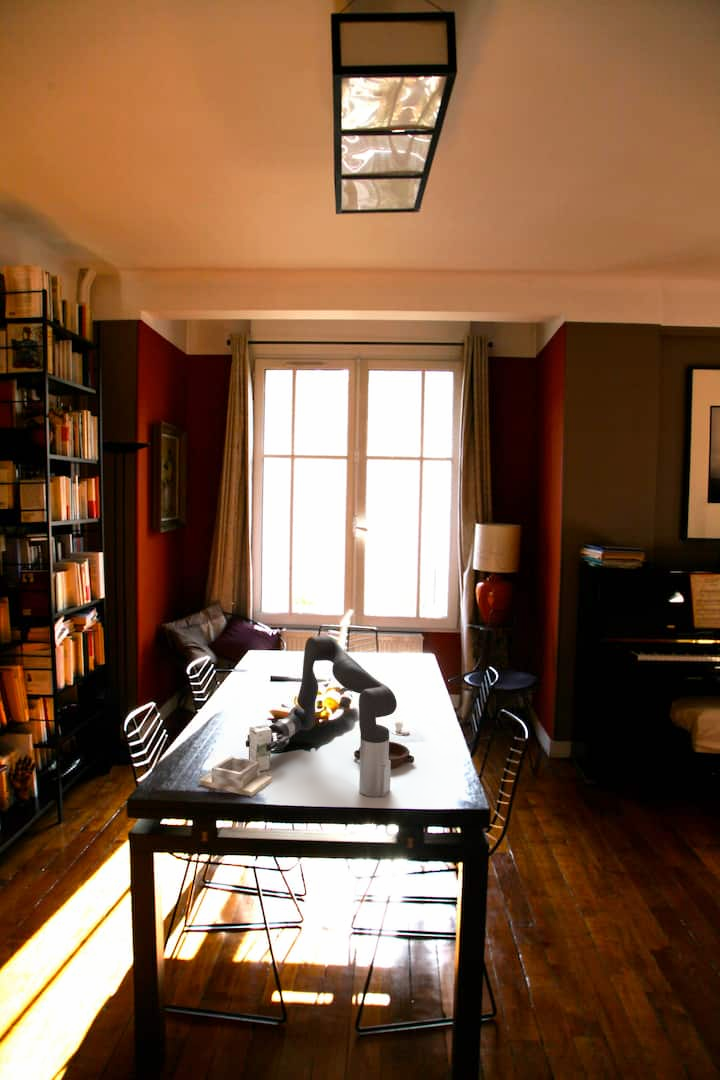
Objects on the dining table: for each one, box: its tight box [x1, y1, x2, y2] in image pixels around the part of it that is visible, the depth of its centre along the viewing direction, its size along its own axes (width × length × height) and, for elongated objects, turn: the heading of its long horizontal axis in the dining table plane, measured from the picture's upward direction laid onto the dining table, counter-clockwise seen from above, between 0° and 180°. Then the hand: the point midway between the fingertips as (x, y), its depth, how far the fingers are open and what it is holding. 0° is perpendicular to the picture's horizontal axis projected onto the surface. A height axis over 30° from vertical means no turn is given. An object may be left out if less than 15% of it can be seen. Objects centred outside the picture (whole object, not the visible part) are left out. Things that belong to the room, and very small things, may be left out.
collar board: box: [198, 755, 273, 798], centre depth 196 cm, size 20×12×6 cm, turn 68°
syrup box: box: [248, 723, 272, 773], centre depth 208 cm, size 6×6×14 cm
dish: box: [353, 741, 415, 769], centre depth 216 cm, size 18×22×5 cm
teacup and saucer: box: [389, 721, 410, 736], centre depth 248 cm, size 9×8×4 cm
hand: (257, 746), depth 206 cm, fingers closed on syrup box, 8 cm apart
